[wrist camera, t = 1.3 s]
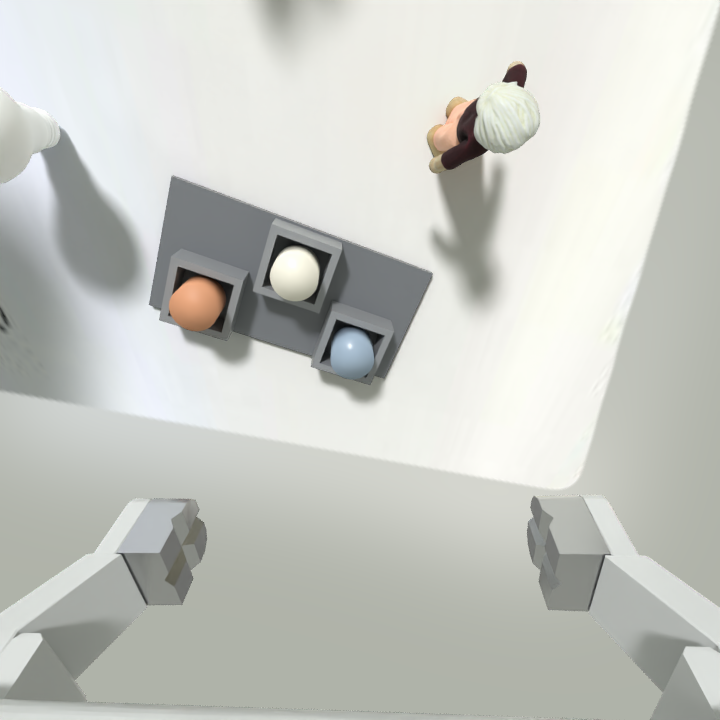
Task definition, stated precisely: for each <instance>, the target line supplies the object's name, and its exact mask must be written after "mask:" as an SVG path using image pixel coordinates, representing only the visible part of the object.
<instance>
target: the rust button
mask: <svg viewBox="0 0 720 720" xmlns="http://www.w3.org/2000/svg"><path fill="white" fill-rule="evenodd" d="M225 304H226V294H225V291H224V289H223V287H222V286H221V285H220V284H219V283H218V282H217V281H216V280H214V279H213V278H211V277H208V276H203V275H198V276H193V277H191V278H189V279H188V280H187V281H186V282H185V283H184V284H183V285H182V286H181V287H180V288H179V289H178V290H177V291H176V292H175V293H174V294H173V295H172V296H171V298H170V301H169V311H170V314H171V316H172V318H173V319H174V320H175V322H176V323H177V324H178V325H180V326H181V327H183V328H185V329H187V330H190V331H203V330H206V329H208V328H210V327H211V326H212V325H213V324H214V322H215V321H216V319H217V318H218V316H219V315H220V313H221V312H222V310H223V308H224V307H225Z"/></svg>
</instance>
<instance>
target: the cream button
mask: <svg viewBox="0 0 720 720" xmlns="http://www.w3.org/2000/svg"><path fill="white" fill-rule="evenodd" d="M319 273H320V263H319V260H318V258H317V256H316V255H315V253H314V252H313V251H312V250H310V249H309V248H307V247H305V246H301V245H291V246H288V247H286V248H284V249H283V250H282V251H281V252H280V253H279V254H278V256H277V258H276V260H275V262H274V264H273V266H272V268H271V272H270V282H271V285H272V287H273V289H274V291H275V292H276V293H277V294H278V295H279V296H281V297H282V298H284V299H286V300H289V301H302V300H305V299H307V298H309V297H310V296H311V295H312V294H313V293H314V292H315V290H316V288H317V286H318V280H319Z"/></svg>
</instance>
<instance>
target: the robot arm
mask: <svg viewBox="0 0 720 720" xmlns="http://www.w3.org/2000/svg"><path fill="white" fill-rule="evenodd" d="M530 508H531V511H532V514H533V518H532V519H530V520H529V521H528V529H527V538H528V546H529V551H530V556H531V559H532V562H533V564H534V565H535V566H536V567H537V568H539V569H540V570H541V571H540V577H539V584H540V587H541V590H542V593H543V596H544V599H545V602H546V605H547V608H548V610H565V611H567V610H568V611H589V615H590V616H591V617H592V618H593V619H594V620H595V621H596V622H597V623H598V624H599V625H600V626H601V627H602V628H603V629H604V630H605V632H606V633H608V635H609V636H610V637H611V638H612V639H613V640H614V641H615V642H616V643H617V644H618V645H619V646H620V648H621V649H622V650H623V651H624V652H625V653H626V654H627V655H628V656H629V657H630V658H631V659H632V660H633V661H634V662H635V664H637V666H638V667H639V668H640V669H641V670H642V671H643V672H644V673H645V674H646V675H647V676H648V677H649V678H650V679H651V681H652V682H653V683H654V684H655V685H656V686H657V687H658V688H659V689H660V690H661V691H662V692H663V694H662V696H661V698H660V700H659V702H658V704H657V706H656V709H655V710H654V712H653V714H652V717H651V719H650V720H720V608H719V607H718V606H716V605H715V604H714V603H712V602H711V601H709V600H708V599H706V598H705V597H704V596H702V595H701V594H700V593H698V592H697V591H695V590H694V589H693V588H691V587H690V586H689V585H687V584H686V583H684V582H683V581H681V580H680V579H679V578H677V577H676V576H674V575H673V574H671V573H670V572H669V571H668V570H666V569H665V568H663V567H662V566H660V565H659V564H658V563H656V562H655V561H654V560H652V559H651V558H649V557H648V556H640V555H639V554H638V552H637V550H636V548H635V547H634V545H633V543H632V542H631V540H630V538H629V537H628V535H627V533H626V531H625V530H624V528H623V526H622V524H621V522H620V521H619V519H618V517H617V516H616V514H615V512H614V510H613V509H612V507H611V505H610V504H609V502H608V500H607V499H606V497H604V496H603V495H579V496H578V495H550V496H534V497H533V498H532V501H531V507H530ZM198 512H199V507H198V505H197V502H196V500H193V499H160V498H159V499H158V498H156V499H155V498H154V499H139V498H137V499H136V498H135V499H133V500H132V501H130V502H129V503H128V504H127V506H126V507H125V509H124V510H123V511H122V513H121V514H120V516H119V517H118V519H117V520H116V522H115V523H114V524H113V526H112V528H111V529H110V530H109V532H108V533H107V535H106V536H105V538H104V539H103V541H102V542H101V543H100V545H99V546H98V548H97V549H96V551H95V552H94V554H87V555H85V556H84V557H83V558H81V559H79V560H78V561H76V562H75V563H73V564H72V565H70V566H69V567H68V568H66V569H65V570H63V571H62V572H60V573H59V574H57V575H56V576H55V577H53V578H51V579H50V580H48V581H47V582H46V583H44V584H43V585H41V586H40V587H38V588H37V589H35V590H34V591H32V592H31V593H29V594H28V595H26V596H25V597H24V598H22V599H21V600H19V601H18V602H16V603H15V604H13V605H12V606H10V607H9V608H8V609H6V610H4V611H3V612H2V613H0V720H599V719H569V718H541V717H511V716H484V715H483V716H482V715H455V714H454V715H453V714H426V713H425V714H424V713H399V712H396V713H395V712H370V711H341V710H312V709H311V710H310V709H282V708H281V709H280V708H253V707H223V706H221V707H220V706H194V705H165V704H135V703H106V702H87V700H86V695H85V694H84V692H83V691H82V690H81V688H80V687H79V686H78V684H77V683H76V681H75V679H77V678H78V676H80V674H82V672H84V670H85V669H87V668H88V666H89V665H90V664H91V663H92V662H93V661H94V660H95V659H96V658H97V657H98V656H99V655H100V654H101V653H102V652H103V651H104V650H105V649H106V648H107V647H108V646H109V645H110V644H111V643H112V642H113V641H114V640H115V639H116V638H117V637H118V636H119V635H120V634H121V633H122V632H123V631H124V630H125V629H126V628H127V627H128V626H129V625H130V624H131V623H132V622H133V621H134V620H135V619H136V618H137V617H138V616H139V615H140V614H141V613H142V612H143V611H144V610H145V609H146V608H147V605H182V603H183V601H184V599H185V596H186V594H187V592H188V590H189V588H190V585H191V583H192V581H193V576H192V572H191V570H192V569H193V568H194V567H195V566H196V565H197V564H199V563H200V562H201V560H202V557H203V554H204V552H205V548H206V541H207V533H206V527H205V524H204V522H203V521H201V520H200V519H199V518H197V517H196V516H197V514H198Z"/></svg>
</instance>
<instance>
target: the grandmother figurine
mask: <svg viewBox="0 0 720 720" xmlns="http://www.w3.org/2000/svg"><path fill="white" fill-rule="evenodd" d="M526 77H527V70H526V68H525V66H524V64H523V63H522V62H520V61H515V62H513V63H512V64H510V66H509V67H508V70H507V73H506V75H505V77H504V79H503V81H502V82H498V83H495V84H491V85H490V86H489V87H488V88H487V89H486V90H485V91H484V93H483V94H482V95H481V96H480V97H479V98H477V99H474V100H471V101H467V100H465V99H463V98H461V97H456V98H454V99H452V100H451V101H450V103H449V104H448V106H447V109H446V115H447V117H448V119H447V121H446V124H445V125H436V126H434V127H433V128H432V129H431V130H430V131H429V132H428V135H427V140H428V143H429V146H430V148H431V151H432V153H433V155H434V158H433V159H432V160H431V161H430V164H429V168H430V170H431V171H432V172H433V173H436V174H437V173H440V172H442V171H446V170H451V169H454V168H456V167H458V166H459V165H461V164H462V163H464V162H466V161H468V160H471V159H474V158H475V157H478V156H480V155H482V154H484V153H485V152H486V151H488V150H490V151H492V152H493V153H503V154H506V153H509V152H511V151H513V150H516V149H518V148H519V147H520V146H522V145H523V144H524V143H525V142H526V141H527V140H529V139H530V138H531V137H533V136H534V135H535V134H536V132H537V130H538V127H539V125H540V113H539V108H538V104H537V101H536V100H535V98H534V97H533V95H532V94H531V93H530V92H528V91H527V90H525V89H524V85H525V81H526Z"/></svg>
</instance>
